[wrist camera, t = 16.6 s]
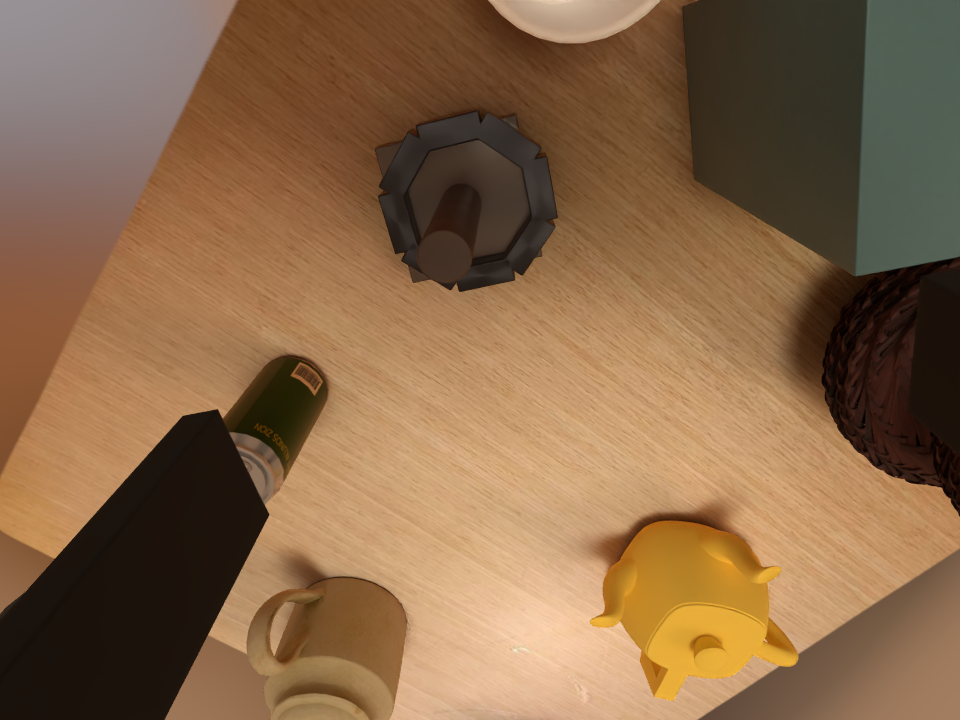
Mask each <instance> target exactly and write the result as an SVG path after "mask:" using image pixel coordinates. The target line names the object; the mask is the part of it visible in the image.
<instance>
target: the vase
mask: <svg viewBox="0 0 960 720" xmlns="http://www.w3.org/2000/svg"><path fill="white" fill-rule="evenodd" d="M955 269H960V257H956V258H951V259H946V260H941V261H935V262H930V263H925V264H920V265H914V266H909V267H904V268H898V269H893V270H888V271H886V272H885V273H884V274H883V275H881V276H880V277H879V278H876V277H874V278H872V279H871V280H870V281H869V282H868V283H867V284H866V285H865V286H864V287H863V288H862V290H861V291H860V292H859V293H858V294H857V295H856V296H855V297H854V298H853V299H852V301H851V302H850V303H849V304H848V305H847V306H846V307H842V309H841V311H840V317H839V318H838V320H837V323H836V326H835V327H834V328H833V330H832V332H831V335H830V339H829V341H828V344H827V348H826V351H825V357H824V359H823V368H824V373H823V375H822V385H823V386H824V388H825V390H826V391H825V401H826V403H827V404H828V406H829V410H830V413H831V416H832V417H833V419H834V422H835V423H836V424H837V427H838V430H839V431H840V432H841V434H842V435H843V436H844V438H845V439H847V440H849V441H850V443H851V444H852V445H853V447H854V449H855V450H856V451H857V452H858V453H860V454H862V455H864V456H865V457H866V458H867V459H868V460H869V461H870V463H871V464H872V463H873V464H872V465H873V466H874V467H876V468H878V469H880V470H884V472H885V473H887V474H888V475H890V476H892V477H895V476H897V477H895V478H901V479H905V480H906V481H907V482H909V483H913V484H923V485H926V484H928V485H930V486H937V487H941V488H942V489H943V491H944V493H945V494H946V496H947V497H949V498H950V499H951V503H952V505H953V506H954V508H955V509H956V510H957V511H958V514H959V516H960V456H958V455H957V454H956V453H955V452H954V451H953V450H952V449H950V448H949V447H948V446H947V445H946V444H945V443H944V442H942V441H941V440H940V439H939V438H938V437H937V436H936V435H934V434H933V433H932V432H931V431H930V430H929V429H928V428H926V427H925V426H924V425H923V424H922V423H921V422H920V421H918V420H917V419H916V418H915V417H914V416H913V415H912V414H910V413H909V412H908V400H909V390H910V380H911V370H912V359H913V349H914V339H915V329H916V318H917V308H918V298H919V288H920V277H921V276H923V275H929V274H934V273H939V272H944V271H950V270H955ZM884 295H885V296H884ZM883 296H884V297H883ZM879 305H880V306H879ZM878 306H879V307H878ZM877 307H878V308H877ZM875 308H876V309H875ZM907 308H910V309H907ZM874 309H875V310H874ZM873 310H874V311H873ZM902 311H904V312H902ZM910 317H911V318H910ZM900 325H901V326H900ZM899 326H900V327H899ZM896 328H897V329H896ZM890 330H891V331H890ZM857 334H859V336H858V337H857V338H856V335H857ZM888 346H889V347H888ZM883 350H885V351H884V352H881V351H883ZM824 366H825V367H824ZM859 374H860V375H859ZM827 401H828V402H827ZM856 402H857V403H856ZM864 424H865V425H864ZM893 475H894V476H893Z"/></svg>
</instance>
